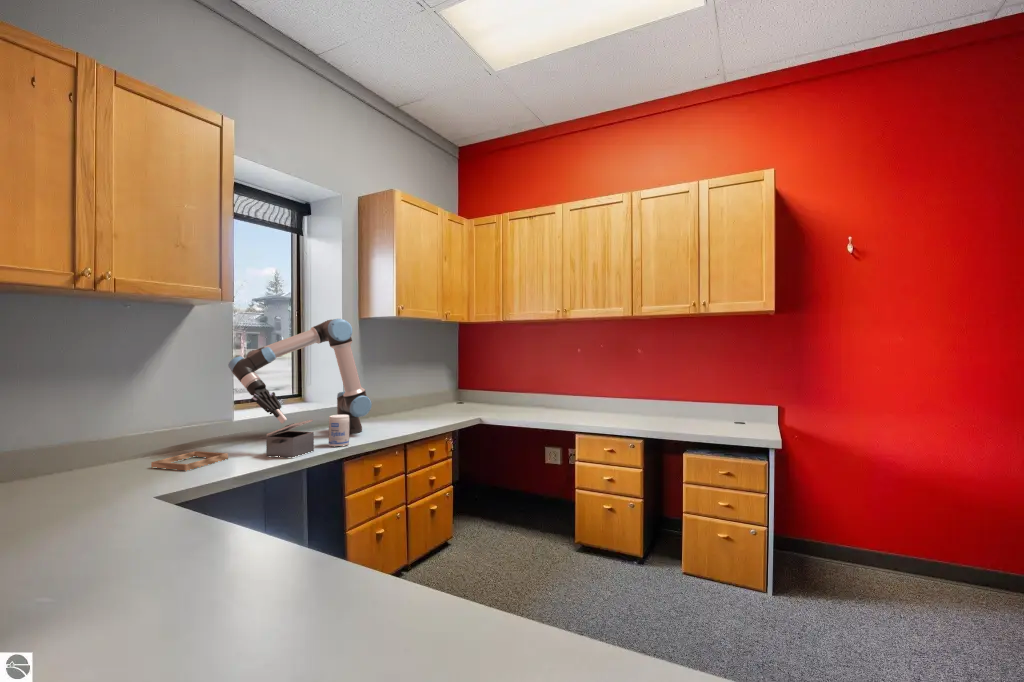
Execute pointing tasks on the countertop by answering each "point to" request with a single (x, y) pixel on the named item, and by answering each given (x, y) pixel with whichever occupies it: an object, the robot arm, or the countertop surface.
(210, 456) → the corral
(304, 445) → the dark grey storage box
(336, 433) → the supplement tub
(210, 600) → the countertop surface
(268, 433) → the lid
